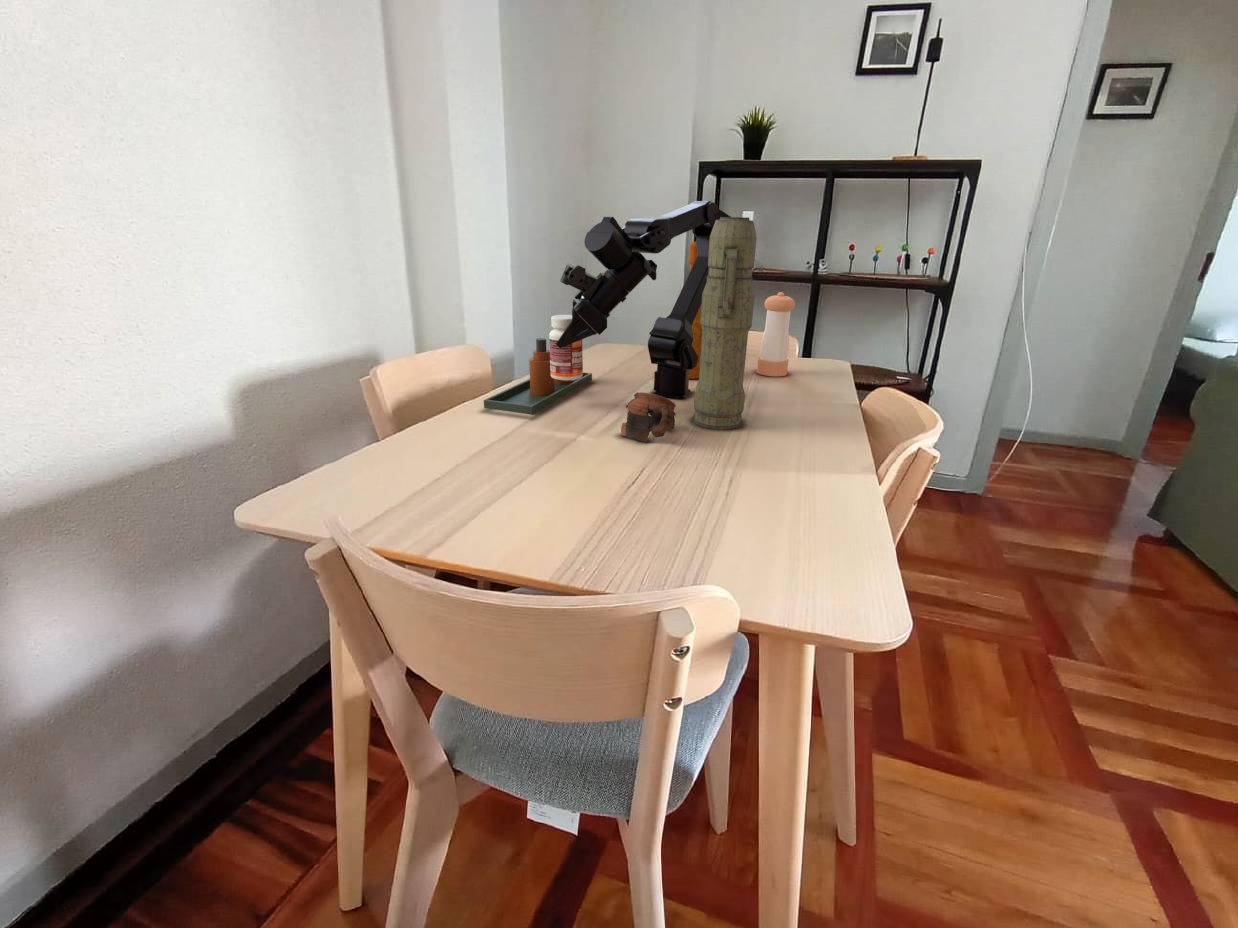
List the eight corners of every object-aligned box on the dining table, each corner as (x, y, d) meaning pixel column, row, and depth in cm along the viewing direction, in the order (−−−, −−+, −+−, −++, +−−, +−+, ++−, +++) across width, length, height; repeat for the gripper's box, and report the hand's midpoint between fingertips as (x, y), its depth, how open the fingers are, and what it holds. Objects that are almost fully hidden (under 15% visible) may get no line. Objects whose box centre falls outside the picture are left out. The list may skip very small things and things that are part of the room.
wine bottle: (712, 380, 141) (723, 243, 129) (669, 379, 141) (677, 242, 130) (706, 370, 150) (716, 241, 139) (667, 369, 150) (673, 240, 139)
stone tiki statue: (737, 413, 117) (756, 217, 104) (746, 433, 107) (768, 218, 93) (691, 411, 118) (704, 216, 105) (695, 431, 107) (710, 216, 94)
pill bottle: (578, 382, 113) (577, 320, 108) (546, 380, 113) (544, 318, 109) (585, 374, 118) (585, 314, 114) (555, 372, 119) (553, 313, 115)
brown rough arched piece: (607, 434, 106) (620, 389, 107) (649, 450, 111) (662, 407, 112) (644, 437, 96) (659, 387, 96) (689, 455, 101) (703, 407, 101)
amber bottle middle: (558, 391, 127) (558, 338, 123) (547, 397, 122) (546, 342, 118) (537, 388, 128) (535, 336, 124) (526, 394, 124) (523, 340, 120)
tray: (592, 383, 136) (592, 373, 136) (532, 418, 112) (531, 406, 111) (551, 378, 140) (551, 368, 139) (484, 411, 115) (483, 400, 114)
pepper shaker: (750, 372, 149) (758, 291, 142) (767, 368, 154) (776, 290, 147) (775, 378, 144) (785, 295, 137) (792, 373, 149) (803, 293, 142)
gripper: (586, 244, 116) (530, 304, 119) (587, 250, 99) (521, 319, 102) (626, 288, 119) (571, 344, 123) (634, 300, 102) (569, 365, 106)
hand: (558, 342), depth 113 cm, fingers closed on pill bottle, 6 cm apart
